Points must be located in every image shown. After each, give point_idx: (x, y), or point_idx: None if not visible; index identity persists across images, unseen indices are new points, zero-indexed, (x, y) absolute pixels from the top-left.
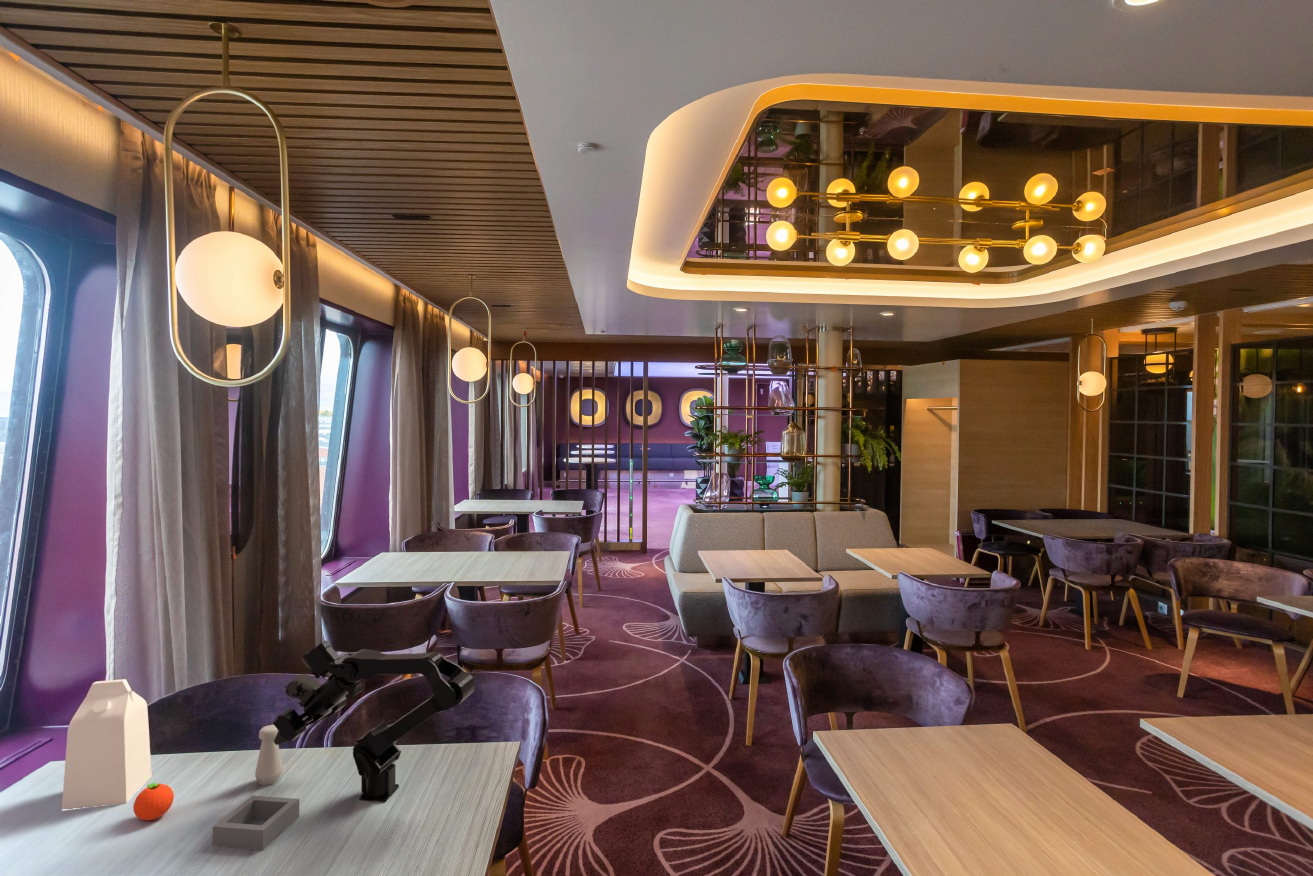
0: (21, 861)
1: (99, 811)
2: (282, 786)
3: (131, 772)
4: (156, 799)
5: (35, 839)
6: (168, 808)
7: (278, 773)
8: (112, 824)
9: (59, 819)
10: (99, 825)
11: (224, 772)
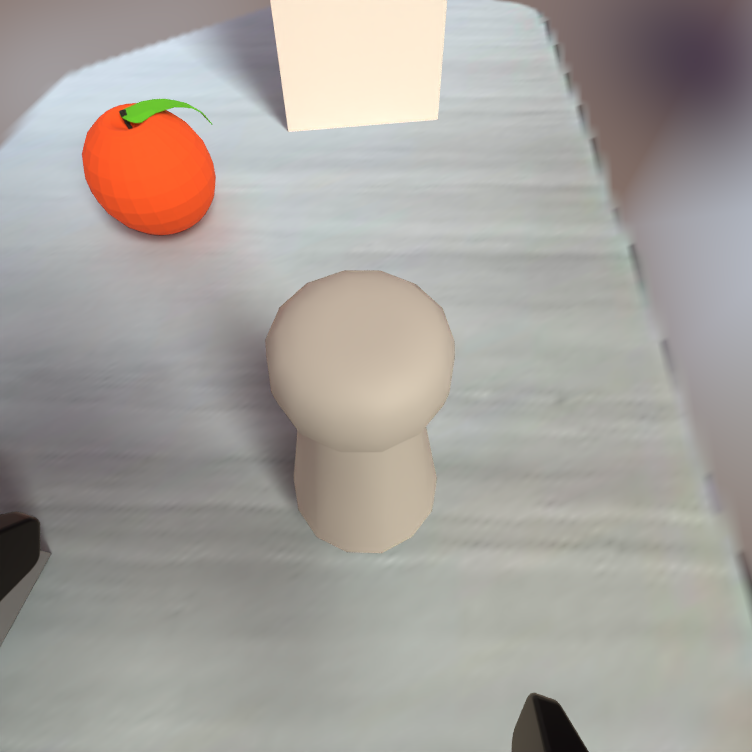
0: (69, 81)
1: (259, 103)
2: (298, 595)
3: (314, 42)
4: (85, 166)
5: (163, 63)
6: (145, 229)
7: (334, 545)
8: None
9: (243, 61)
10: None
11: (457, 281)
